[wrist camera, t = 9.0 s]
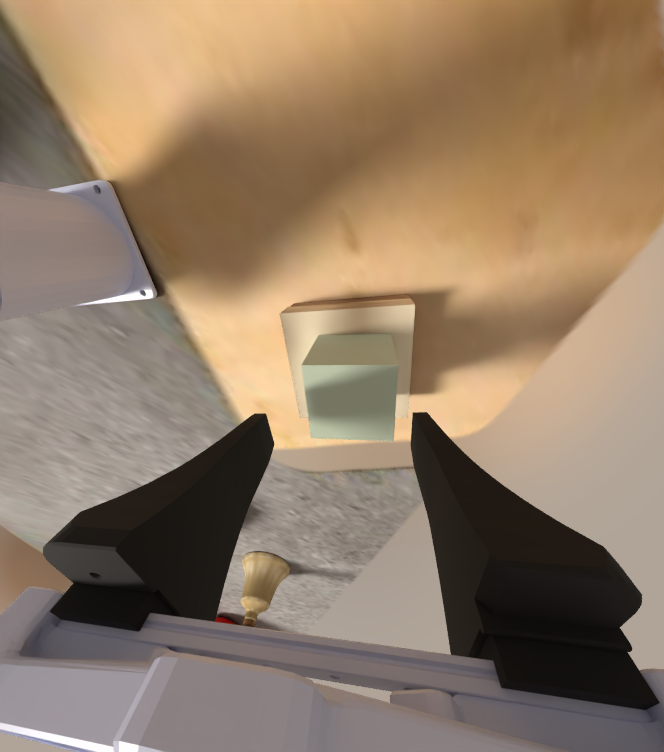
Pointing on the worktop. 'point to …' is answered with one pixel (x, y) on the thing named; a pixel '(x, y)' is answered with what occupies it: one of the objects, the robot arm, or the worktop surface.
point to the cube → (351, 387)
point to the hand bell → (261, 582)
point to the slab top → (346, 320)
